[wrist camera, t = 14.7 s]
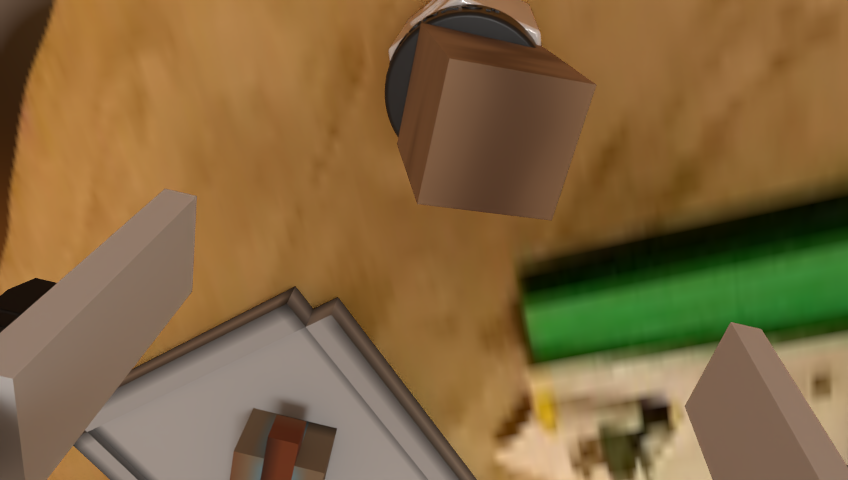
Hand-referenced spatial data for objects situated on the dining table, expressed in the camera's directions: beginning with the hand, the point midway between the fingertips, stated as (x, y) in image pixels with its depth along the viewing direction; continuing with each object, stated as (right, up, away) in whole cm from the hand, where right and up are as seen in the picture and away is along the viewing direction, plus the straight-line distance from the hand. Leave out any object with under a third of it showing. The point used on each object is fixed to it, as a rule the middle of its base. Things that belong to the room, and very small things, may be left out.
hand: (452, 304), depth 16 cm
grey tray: (-14, -19, +46) cm, 52 cm away
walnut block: (+1, +9, +16) cm, 18 cm away
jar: (+2, +14, +26) cm, 30 cm away
